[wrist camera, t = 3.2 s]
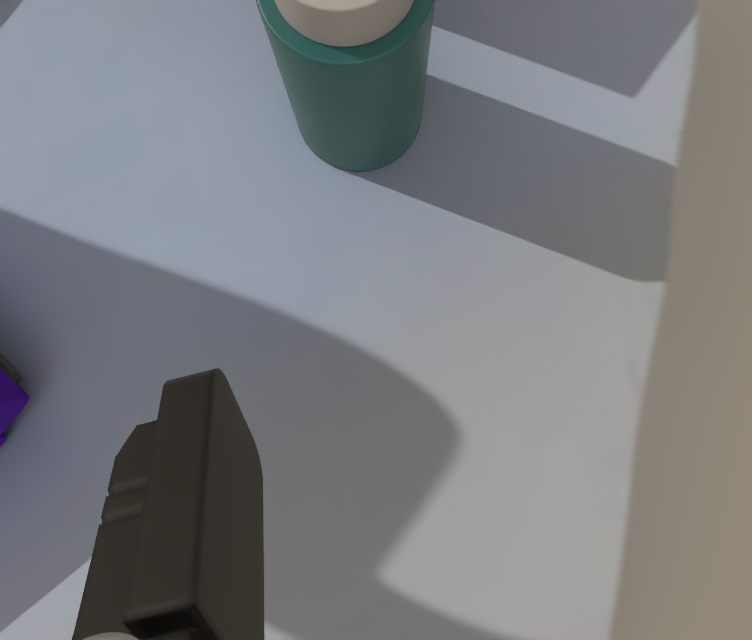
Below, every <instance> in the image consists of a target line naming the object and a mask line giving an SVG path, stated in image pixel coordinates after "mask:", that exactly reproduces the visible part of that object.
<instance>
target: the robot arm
mask: <svg viewBox="0 0 752 640" xmlns="http://www.w3.org/2000/svg"><path fill="white" fill-rule="evenodd" d="M108 492H109V496H106V499H105V504H104V508H103V512H102V516H101V518H102V524H101V525H99V529H98V533H97V537H96V542H95V546H94V550H93V554H92V558H91V563H90V567H89V571H88V575H87V580H86V584H85V588H84V592H83V596H82V601H81V605H80V609H79V613H78V618H77V622H76V626H75V630H74V634H73V637H72V640H264V551H263V477H262V469H261V463H260V458H259V454H258V451H257V447H256V444H255V442H254V439H253V437H252V435H251V432H250V430H249V428H248V426H247V423H246V421H245V419H244V417H243V414H242V412H241V410H240V408H239V406H238V403H237V401H236V399H235V397H234V394H233V392H232V390H231V388H230V385H229V383H228V381H227V379H226V377H225V375H224V373H223V372H222V371H221V370H220V369H218V368H217V369H213V370H209V371H205V372H201V373H197V374H193V375H188V376H184V377H180V378H176V379H172V380H169V381H166V382H165V384H164V386H163V391H162V396H161V402H160V407H159V413H158V419H157V421H153V422H149V423H145V424H141V425H137V426H136V427H135V429H134V430H133V432H132V433H131V435H130V436H129V438H128V439H127V441H126V442H125V444H124V445H123V447H122V448H121V450H120V451H119V453H118V454H117V456H116V457H115V461H114V466H113V470H112V474H111V478H110V482H109V487H108Z"/></svg>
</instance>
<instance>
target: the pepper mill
mask: <svg viewBox="0 0 752 640" xmlns="http://www.w3.org/2000/svg"><path fill="white" fill-rule="evenodd" d="M256 2H257V5H258V8H259V11H260V14H261V17H262V20H263V23H264V26H265V29H266V32H267V35H268V38H269V40H270V43H271V46H272V49H273V52H274V55H275V58H276V61H277V64H278V67H279V70H280V73H281V76H282V78H283V81H284V84H285V87H286V90H287V93H288V96H289V99H290V102H291V105H292V108H293V111H294V113H295V116H296V119H297V122H298V125H299V128H300V131H301V134H302V136H303V138H304V140H305V142H306V143H307V145H308V146H309V148H310V149H311V150H312V151H313V152H314V153H315V154H316V155H317V156H318V157H319V158H320V159H322V160H323V161H325V162H326V163H328V164H330V165H332V166H334V167H337V168H340V169H343V170H349V171H369V170H374V169H378V168H380V167H383V166H385V165H387V164H389V163H391V162H393V161H394V160H396V159H397V158H399V157H400V156H401V155H402V154H403V153H404V152H405V151H406V150H407V149H408V148H409V146H410V145H411V143H412V142H413V140H414V138H415V136H416V134H417V132H418V129H419V126H420V121H421V114H422V106H423V97H424V88H425V80H426V71H427V62H428V54H429V45H430V37H431V28H432V19H433V11H434V2H435V0H256Z"/></svg>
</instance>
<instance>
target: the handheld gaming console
mask: <svg viewBox="0 0 752 640" xmlns="http://www.w3.org/2000/svg"><path fill="white" fill-rule="evenodd" d="M20 378H21V376H20V374H19V372H18V371H17V370H16V369H15V368H14V367H13V366H12V365H11V364H10V363H9V362H8V361H7V360H6V359H5V358H4V357H3V356H2V355H1V354H0V446H1V445H2V444H3V443H4V441H5V440H6V435H5V434H3V431H4V430H5V429H6V428H7V427H8V426H9V424H10V423H11V422H12V421H13V420H14V419H15V417H16V416H17V415H18V414H19V413H20V412H21V410H22V409H23V408H24V406H25V405H26V404H27V402H28V400H29V396H28V395H27V394H26V393H25V392H24V391H23V390H22V389H21V388H20V387H19V386H18V385H17V384H16V382H17V381H18V380H19V379H20Z"/></svg>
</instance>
